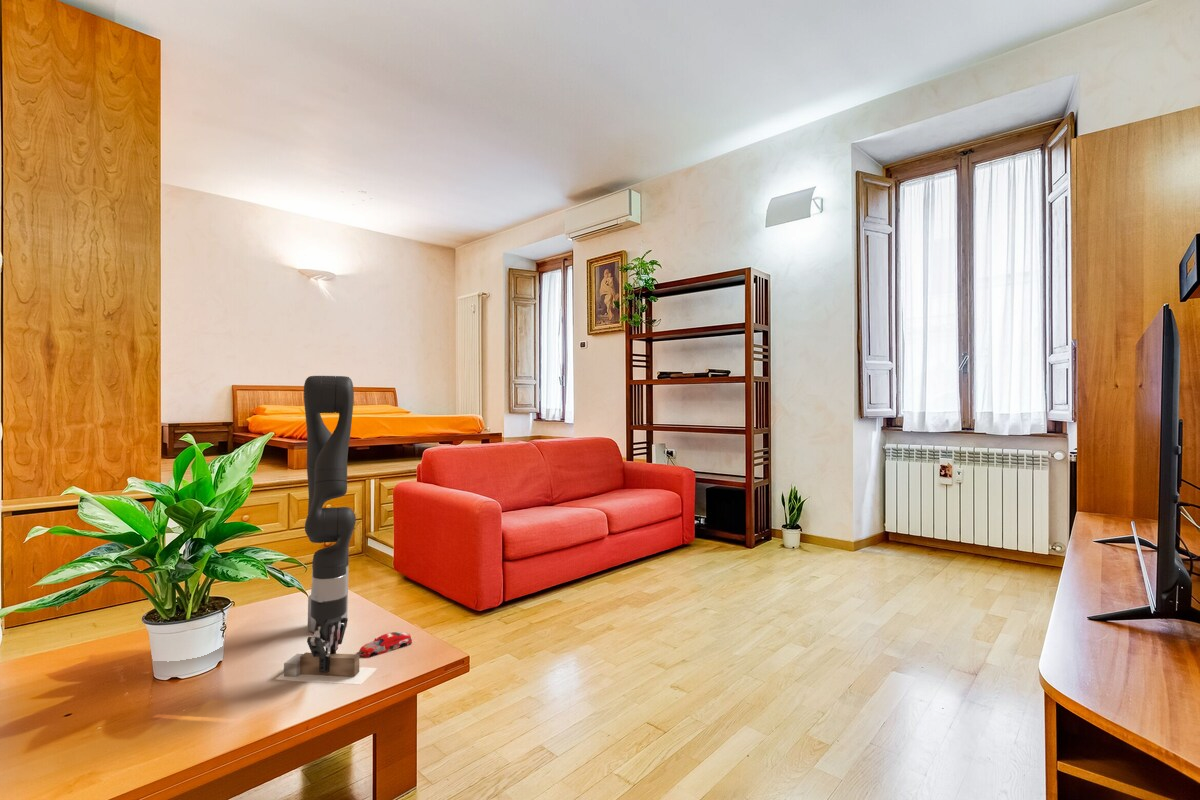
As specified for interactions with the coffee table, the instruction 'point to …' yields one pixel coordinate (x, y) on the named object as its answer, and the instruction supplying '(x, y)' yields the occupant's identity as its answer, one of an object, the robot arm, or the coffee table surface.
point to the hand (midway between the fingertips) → (327, 669)
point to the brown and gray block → (310, 665)
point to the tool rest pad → (333, 677)
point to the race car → (385, 644)
